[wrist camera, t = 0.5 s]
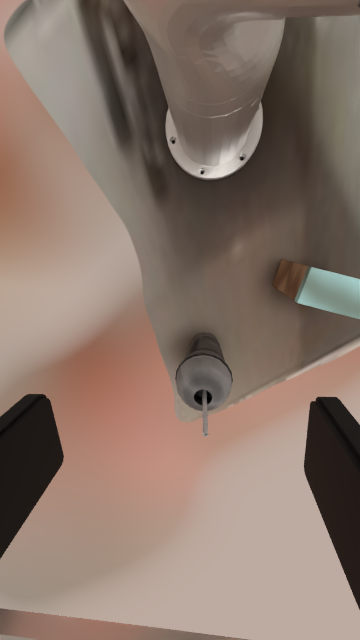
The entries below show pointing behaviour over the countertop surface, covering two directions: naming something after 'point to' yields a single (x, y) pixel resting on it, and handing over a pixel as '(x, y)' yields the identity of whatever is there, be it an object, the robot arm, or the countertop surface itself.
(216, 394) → the beverage cup
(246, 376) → the countertop surface
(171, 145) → the robot arm
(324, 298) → the wooden block
